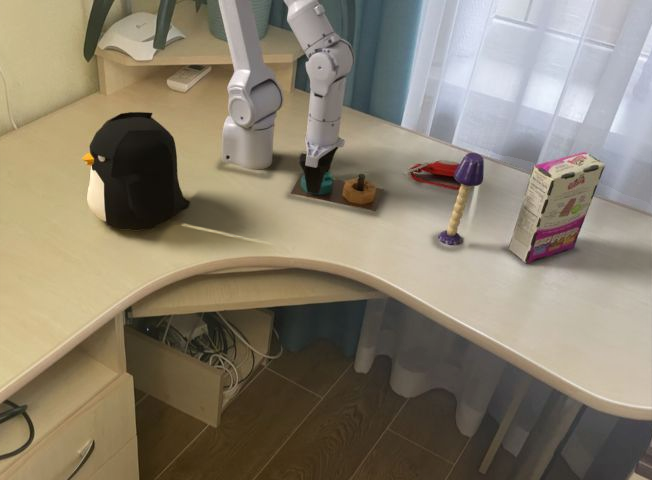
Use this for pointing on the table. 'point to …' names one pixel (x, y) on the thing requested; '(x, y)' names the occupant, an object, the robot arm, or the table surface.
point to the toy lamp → (463, 194)
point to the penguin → (134, 173)
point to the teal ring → (325, 187)
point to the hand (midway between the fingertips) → (317, 183)
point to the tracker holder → (435, 171)
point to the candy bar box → (555, 206)
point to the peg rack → (340, 193)
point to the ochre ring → (359, 192)
